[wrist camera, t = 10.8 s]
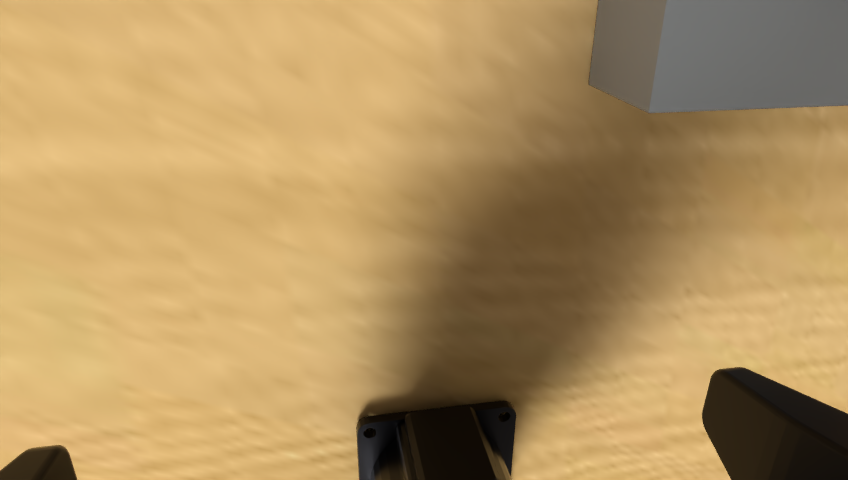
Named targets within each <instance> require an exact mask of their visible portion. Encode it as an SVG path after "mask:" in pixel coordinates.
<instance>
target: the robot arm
mask: <svg viewBox="0 0 848 480" xmlns="http://www.w3.org/2000/svg"><path fill="white" fill-rule="evenodd" d="M503 412H506V413H505V414H504V415H500V414H501V413H503ZM702 419H703V424H704V427H705V430H706V432H707V434H708V436H709V438H710V440H711V442H712V444H713V445H714V447H715V449H716V451H717V453H718V455H719V457H720V459H721V461H722V463H723V465H724V467H725V468H726V470H727V472H728V474H729V476H730V478H731V480H848V414H847V413H845V412H843V411H840V410H838V409H836V408H834V407H831V406H829V405H827V404H825V403H822V402H820V401H818V400H816V399H813V398H811V397H809V396H807V395H804V394H802V393H800V392H798V391H795V390H793V389H791V388H789V387H786V386H784V385H782V384H780V383H777V382H775V381H773V380H771V379H768V378H766V377H764V376H762V375H760V374H757V373H755V372H753V371H751V370H748V369H746V368H742V367H735V368H726V369H719V370H717V371H715V372H714V373H713V375H712V376H711V379H710V383H709V387H708V391H707V395H706V399H705V403H704V407H703V412H702ZM515 421H516V412H515V410H514V408H513V406H512V404H511V403H510V402H508V401H497V402H488V403H479V404H471V405H462V406H453V407H445V408H436V409H427V410H419V411H410V412H402V413H393V414H384V415H376V416H368V417H364V418H362V419H361V420H360V421H359V422H358V423H357V427H356V430H357V449H358V469H359V480H512V479H511V467H512V455H513V444H514V433H515ZM368 428H373V430H371V431H365V430H366V429H368ZM0 480H77V477H76V474H75V471H74V467H73V464H72V461H71V458H70V455H69V452H68V450H67V449H66V448H65V447H64V446H61V445H54V446H45V447H37V448H31V449H28V450H26V451H25V452H23V453H22V454H20V455H19V456H18V457H17V458H15V459H14V460H13V461H12V462H10V463H9V464H8V465H7V466H5V467H4V468H3V469H2V470H0Z"/></svg>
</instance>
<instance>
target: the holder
mask: <svg viewBox="0 0 848 480" xmlns="http://www.w3.org/2000/svg"><path fill="white" fill-rule="evenodd" d="M589 85H591V86H593V87H595V88H597V89H599V90H601V91H603V92H605V93H607V94H609V95H612V96H614V97H616V98H618V99H620V100H622V101H624V102H626V103H628V104H630V105H632V106H635V107H637V108H639V109H641V110H643V111H645V112H647V113H665V112H691V111H716V110H742V109H767V108H793V107H819V106H844V105H848V0H598V9H597V17H596V26H595V34H594V43H593V51H592V60H591V68H590V77H589Z"/></svg>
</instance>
